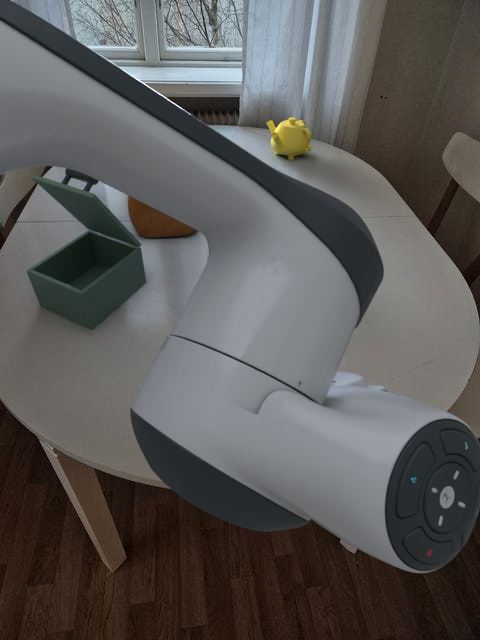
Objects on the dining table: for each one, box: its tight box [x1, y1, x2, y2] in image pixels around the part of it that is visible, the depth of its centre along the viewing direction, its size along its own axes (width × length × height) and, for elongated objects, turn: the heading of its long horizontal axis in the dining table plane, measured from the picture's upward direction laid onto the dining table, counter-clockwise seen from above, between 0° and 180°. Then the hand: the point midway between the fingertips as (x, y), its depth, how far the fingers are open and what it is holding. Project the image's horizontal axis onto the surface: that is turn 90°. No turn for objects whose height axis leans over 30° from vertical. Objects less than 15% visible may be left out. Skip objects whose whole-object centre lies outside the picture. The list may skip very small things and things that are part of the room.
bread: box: [127, 195, 197, 238], centre depth 106 cm, size 18×21×17 cm
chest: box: [25, 229, 148, 331], centre depth 85 cm, size 17×14×9 cm
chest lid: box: [31, 168, 143, 248], centre depth 80 cm, size 17×14×5 cm
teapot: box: [266, 117, 313, 160], centre depth 140 cm, size 14×14×11 cm
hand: (241, 410), depth 47 cm, fingers open, 8 cm apart
